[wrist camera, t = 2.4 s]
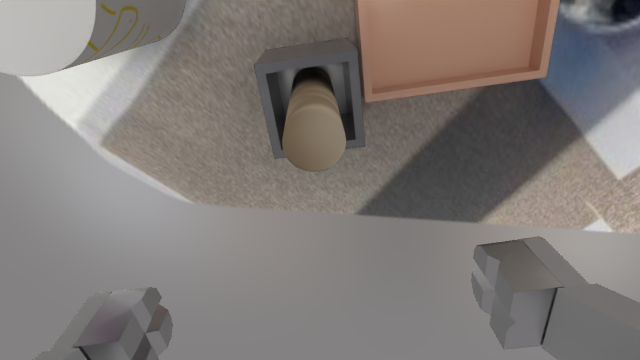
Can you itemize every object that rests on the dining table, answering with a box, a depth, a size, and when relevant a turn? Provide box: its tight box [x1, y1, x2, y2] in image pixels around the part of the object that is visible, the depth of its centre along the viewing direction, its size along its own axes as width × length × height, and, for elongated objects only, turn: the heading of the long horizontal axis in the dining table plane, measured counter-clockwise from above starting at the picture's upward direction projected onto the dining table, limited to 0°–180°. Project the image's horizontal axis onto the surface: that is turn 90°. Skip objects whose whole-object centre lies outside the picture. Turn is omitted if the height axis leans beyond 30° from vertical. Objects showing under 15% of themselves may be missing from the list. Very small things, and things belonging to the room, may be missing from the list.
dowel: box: [282, 66, 346, 172], centre depth 22 cm, size 3×3×12 cm
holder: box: [254, 38, 365, 159], centre depth 25 cm, size 6×6×7 cm
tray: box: [354, 0, 560, 103], centre depth 25 cm, size 14×11×2 cm
